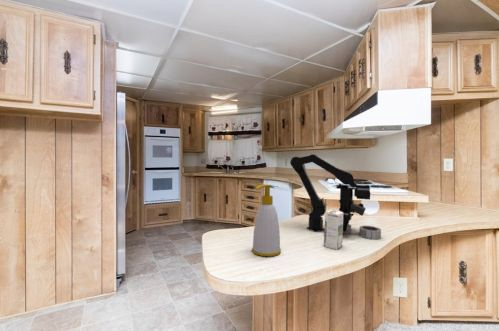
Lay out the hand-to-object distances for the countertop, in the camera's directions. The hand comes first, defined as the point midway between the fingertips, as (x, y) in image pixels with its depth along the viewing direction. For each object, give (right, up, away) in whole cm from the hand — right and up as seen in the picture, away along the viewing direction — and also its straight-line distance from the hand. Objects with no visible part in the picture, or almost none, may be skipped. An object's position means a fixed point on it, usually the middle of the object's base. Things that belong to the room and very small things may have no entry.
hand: (345, 229), depth 118 cm
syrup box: (-12, -2, -17) cm, 21 cm away
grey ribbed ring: (+10, -2, -5) cm, 11 cm away
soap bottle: (-40, -2, -23) cm, 47 cm away
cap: (0, -2, 0) cm, 2 cm away
